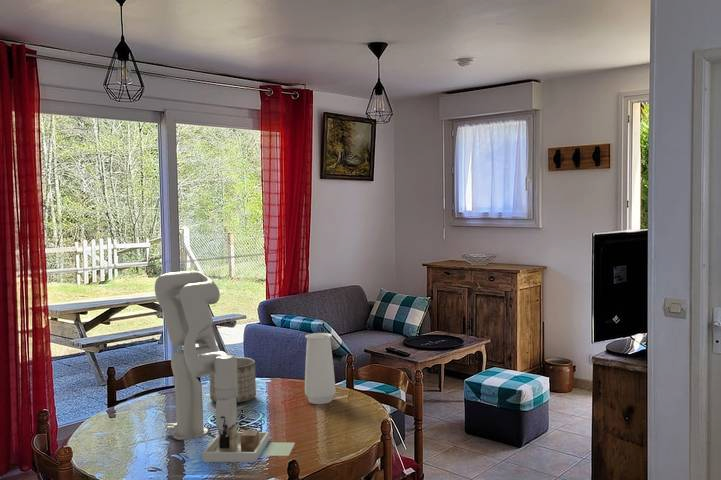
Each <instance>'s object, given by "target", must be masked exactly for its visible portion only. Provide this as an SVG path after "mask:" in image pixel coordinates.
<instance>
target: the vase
mask: <svg viewBox="0 0 721 480" xmlns="http://www.w3.org/2000/svg"><path fill="white" fill-rule="evenodd" d="M332 336H333V334H331V333H329V332H313V333H307V334H305V336H304V338H306V348H305V350H306V351H305V367H304V368H305V370H304V396H306V397H307V399H308V402H309V403H310V404H314V405H323V404H328V403H332V401H333V397H334V395H335V394H336V378H335V369H334V359H333V351H332V341H331V338H332Z"/></svg>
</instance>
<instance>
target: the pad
mask: <svg viewBox="0 0 721 480" xmlns="http://www.w3.org/2000/svg"><path fill="white" fill-rule="evenodd" d="M295 444H296V442H285V441H284V442H277V441H276V442H275V441H273V442H268V445H266V447H265V448H264V450H263V452H262V453H261V454H262V455H261V456H262V457H263V456H264V457H267V456H269V457H270V456H271V457H277V456H278V457H280V456H281V457H287V456H288V457H289V456H290V454H291V453H292V450H293V448H294V446H295Z"/></svg>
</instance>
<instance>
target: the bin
mask: <svg viewBox="0 0 721 480" xmlns="http://www.w3.org/2000/svg"><path fill="white" fill-rule="evenodd" d="M242 433H243V431H237V440H238V448H237V449H236V451H235V452H219V436H218V434H216V436H215V437H214V439H212V440H211V442H210V443H209V444H208V445H207V447H205V448H204V450H203V451H202V453H201V454H202V457H201V458H202V460H201V461H202V463H203V462H205V463H206V462H211V463H213V462H216V463H217V462H218V463H219V462H221V463H222V462H223V463H230V462H231V463H256V462H258V459H259V458H260V456H261V454H263V452H264V451H265V449H266V447H267V446H268V445H267V444H269V441H270V432H269V431H259V445H258V446H257V448H256V449H255V451H254V452H241V436H240V435H241V434H242Z"/></svg>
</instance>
